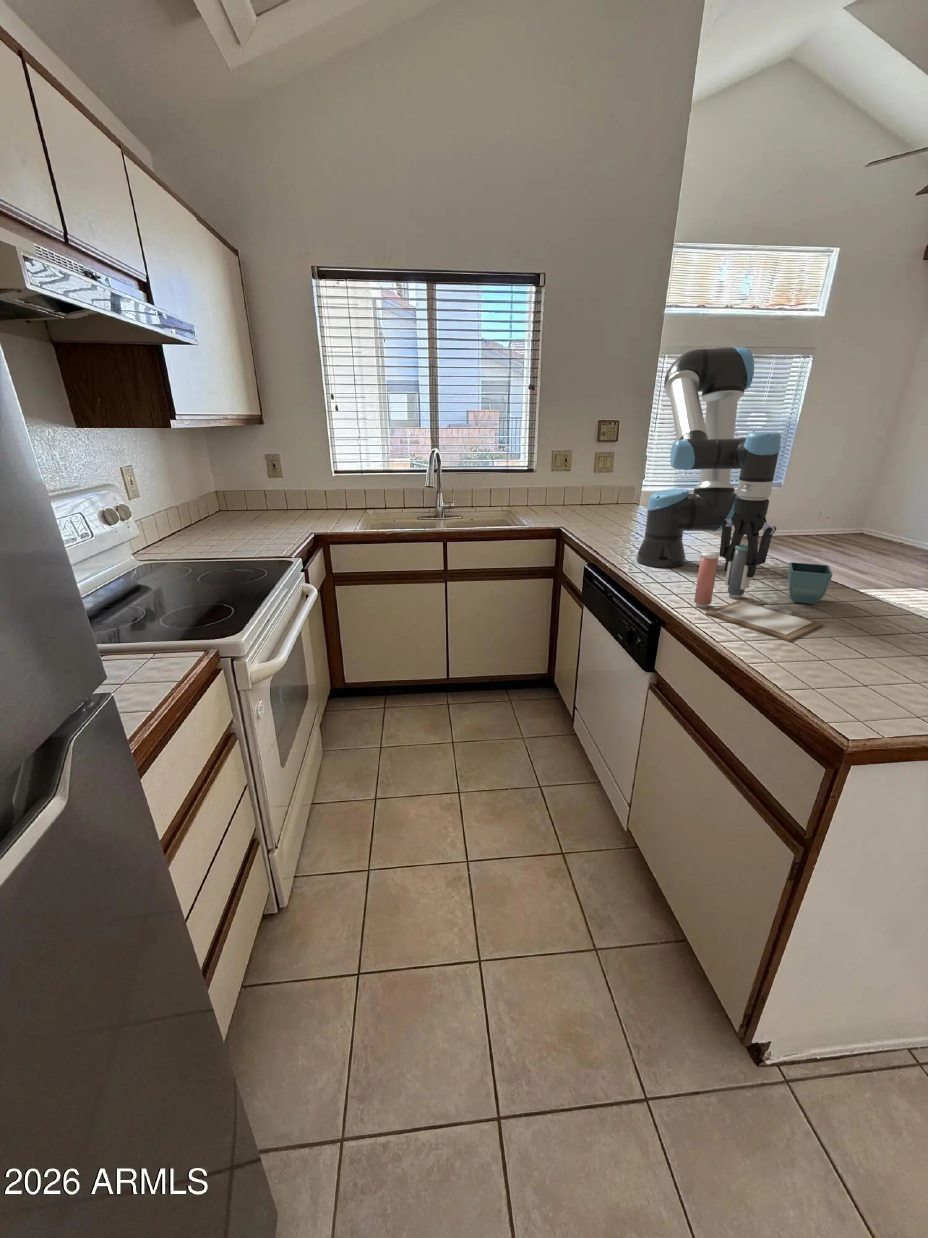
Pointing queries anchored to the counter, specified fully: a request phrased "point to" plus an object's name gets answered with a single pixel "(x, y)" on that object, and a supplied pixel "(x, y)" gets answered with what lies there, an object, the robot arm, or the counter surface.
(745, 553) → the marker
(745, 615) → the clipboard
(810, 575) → the flower pot
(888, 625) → the counter surface
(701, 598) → the pink bottle
